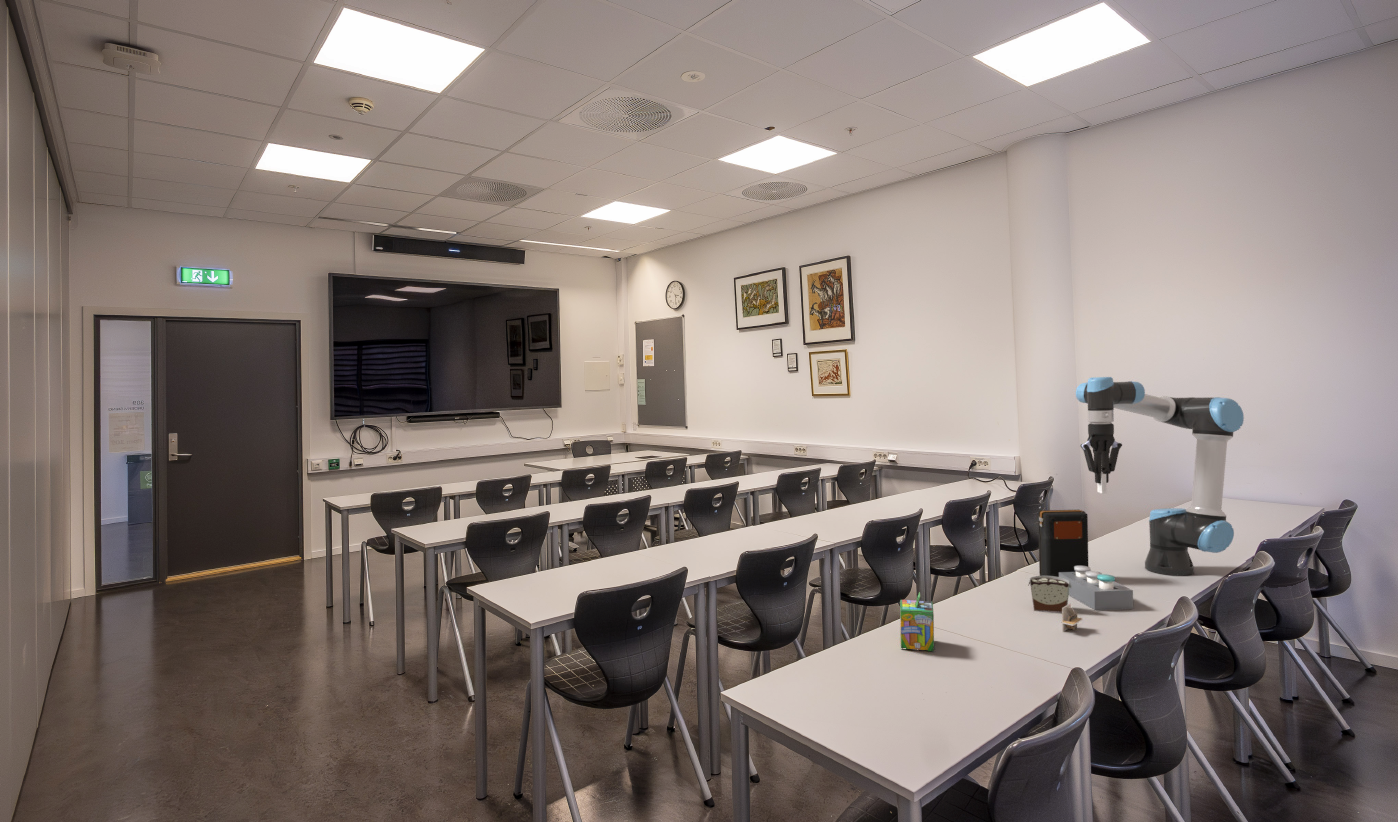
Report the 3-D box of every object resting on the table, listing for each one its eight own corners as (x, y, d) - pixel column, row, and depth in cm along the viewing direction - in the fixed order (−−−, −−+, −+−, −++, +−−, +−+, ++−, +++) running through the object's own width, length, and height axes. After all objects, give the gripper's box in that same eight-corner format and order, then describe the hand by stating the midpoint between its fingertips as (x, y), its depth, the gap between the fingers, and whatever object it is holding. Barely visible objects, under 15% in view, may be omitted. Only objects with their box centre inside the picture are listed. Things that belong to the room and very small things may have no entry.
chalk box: (900, 638, 200) (899, 587, 200) (933, 640, 197) (932, 589, 197) (900, 650, 191) (898, 597, 191) (935, 652, 189) (933, 599, 188)
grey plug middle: (1097, 594, 230) (1096, 570, 229) (1105, 598, 225) (1105, 574, 225) (1083, 594, 230) (1082, 571, 229) (1091, 599, 225) (1090, 575, 225)
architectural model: (1083, 630, 201) (1082, 605, 201) (1073, 637, 197) (1072, 611, 196) (1070, 628, 204) (1070, 603, 203) (1060, 634, 199) (1060, 608, 199)
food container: (1068, 606, 221) (1067, 576, 220) (1072, 613, 215) (1071, 581, 214) (1026, 604, 225) (1025, 574, 224) (1028, 610, 219) (1028, 579, 218)
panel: (1093, 588, 238) (1093, 571, 238) (1133, 608, 216) (1132, 590, 216) (1059, 589, 238) (1058, 572, 238) (1094, 610, 216) (1094, 591, 216)
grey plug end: (1085, 588, 237) (1085, 565, 236) (1093, 592, 232) (1093, 569, 232) (1071, 588, 237) (1071, 565, 236) (1079, 592, 232) (1079, 569, 232)
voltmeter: (1081, 575, 254) (1079, 508, 253) (1092, 582, 245) (1091, 512, 244) (1037, 575, 255) (1035, 509, 254) (1046, 582, 247) (1045, 513, 246)
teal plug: (1109, 598, 223) (1109, 573, 222) (1118, 602, 218) (1118, 578, 218) (1094, 598, 223) (1094, 574, 222) (1103, 603, 218) (1102, 578, 218)
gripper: (1087, 424, 226) (1088, 495, 227) (1127, 422, 226) (1128, 493, 227) (1075, 423, 234) (1076, 491, 235) (1113, 421, 234) (1114, 490, 235)
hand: (1101, 492), depth 231 cm, fingers closed
